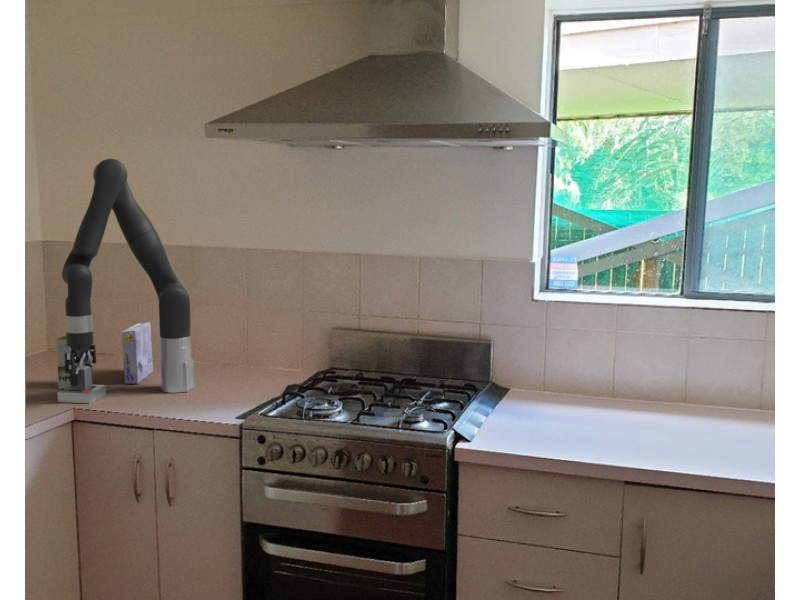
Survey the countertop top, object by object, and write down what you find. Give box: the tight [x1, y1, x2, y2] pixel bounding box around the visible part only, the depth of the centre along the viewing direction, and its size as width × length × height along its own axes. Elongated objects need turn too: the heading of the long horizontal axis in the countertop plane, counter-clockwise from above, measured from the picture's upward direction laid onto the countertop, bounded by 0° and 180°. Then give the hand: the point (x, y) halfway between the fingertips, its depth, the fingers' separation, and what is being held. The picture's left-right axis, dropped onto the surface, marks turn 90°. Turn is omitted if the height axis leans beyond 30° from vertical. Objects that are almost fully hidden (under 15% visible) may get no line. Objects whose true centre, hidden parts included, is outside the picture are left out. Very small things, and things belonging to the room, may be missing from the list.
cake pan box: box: [121, 322, 154, 385], centre depth 258 cm, size 19×5×18 cm, turn 2°
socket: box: [57, 384, 107, 404], centre depth 233 cm, size 10×10×4 cm
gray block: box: [71, 366, 93, 392], centre depth 232 cm, size 4×4×10 cm
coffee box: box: [56, 335, 84, 389], centre depth 246 cm, size 9×6×16 cm
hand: (81, 382), depth 232 cm, fingers open, 8 cm apart
